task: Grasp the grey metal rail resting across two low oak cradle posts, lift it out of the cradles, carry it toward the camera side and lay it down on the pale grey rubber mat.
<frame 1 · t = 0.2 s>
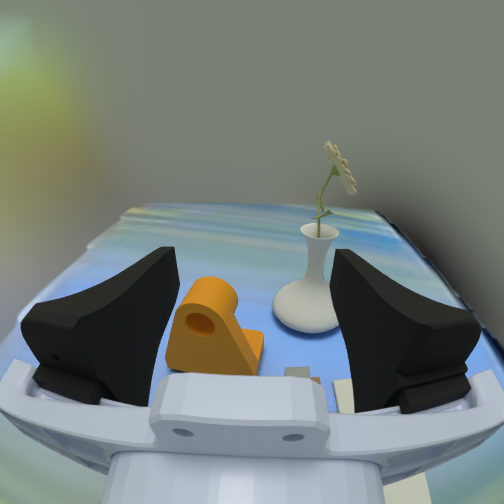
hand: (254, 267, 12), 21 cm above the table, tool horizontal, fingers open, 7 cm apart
mat: (380, 449, 20), on the table
flower in vase: (310, 311, 42), on the table
bracket: (218, 360, 34), on the table
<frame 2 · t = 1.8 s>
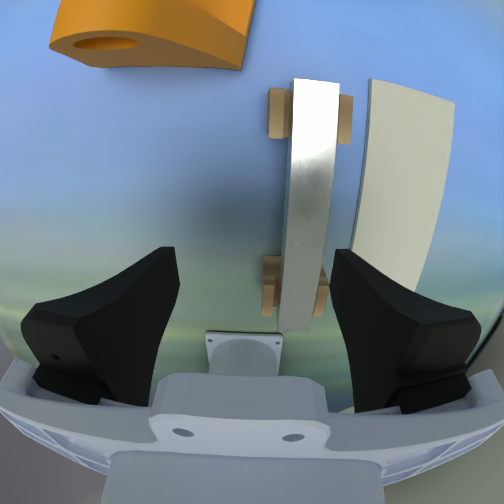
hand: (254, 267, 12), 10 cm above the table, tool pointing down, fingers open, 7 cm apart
rail: (301, 213, 18), point 3 cm above the table, touching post, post
mat: (399, 207, 21), on the table
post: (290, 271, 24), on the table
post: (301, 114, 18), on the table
bracket: (178, 25, 15), on the table
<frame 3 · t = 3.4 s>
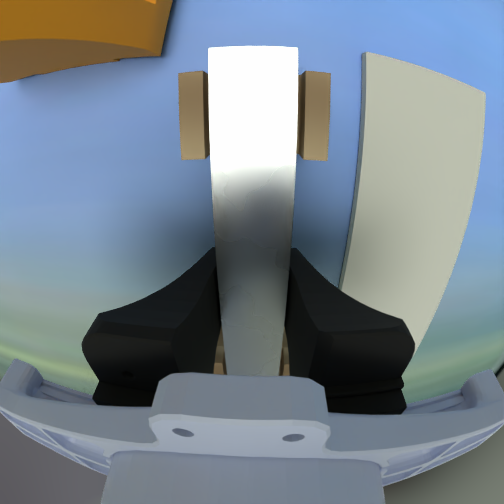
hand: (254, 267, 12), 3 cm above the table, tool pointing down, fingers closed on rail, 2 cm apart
rail: (254, 270, 12), point 3 cm above the table, touching gripper, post, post
mat: (408, 242, 14), on the table
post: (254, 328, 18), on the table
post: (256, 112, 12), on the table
bracket: (91, 11, 8), on the table
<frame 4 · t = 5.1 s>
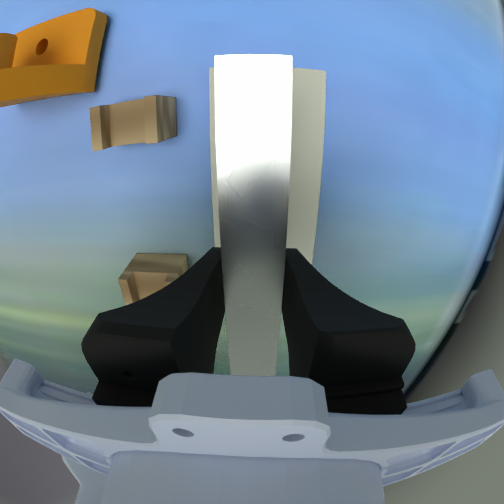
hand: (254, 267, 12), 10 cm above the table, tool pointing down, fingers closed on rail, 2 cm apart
rail: (254, 255, 13), point 9 cm above the table, touching gripper
mat: (265, 198, 21), on the table
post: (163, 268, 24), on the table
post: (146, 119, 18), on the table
bracket: (59, 60, 15), on the table
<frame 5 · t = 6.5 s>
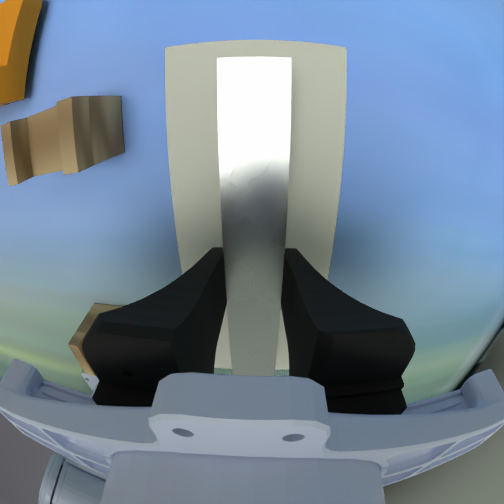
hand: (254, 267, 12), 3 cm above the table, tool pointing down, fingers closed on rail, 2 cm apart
rail: (255, 251, 14), point 1 cm above the table, touching gripper
mat: (255, 241, 15), on the table
when the fingers open (2 cm above the table, at t = 7.0 s): rail stays where it is, resting on mat.
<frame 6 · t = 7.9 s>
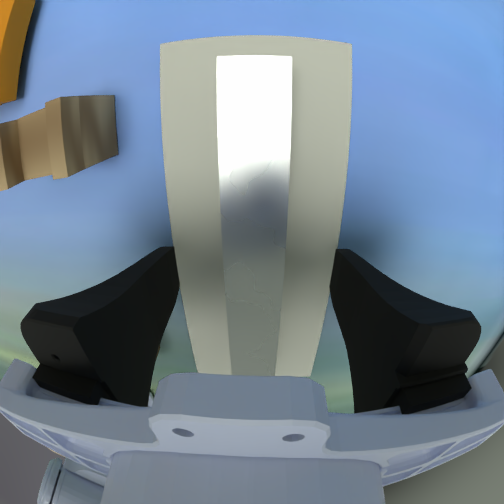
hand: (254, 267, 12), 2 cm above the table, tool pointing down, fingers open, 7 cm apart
rail: (255, 252, 13), point 1 cm above the table, touching mat
mat: (255, 247, 14), on the table
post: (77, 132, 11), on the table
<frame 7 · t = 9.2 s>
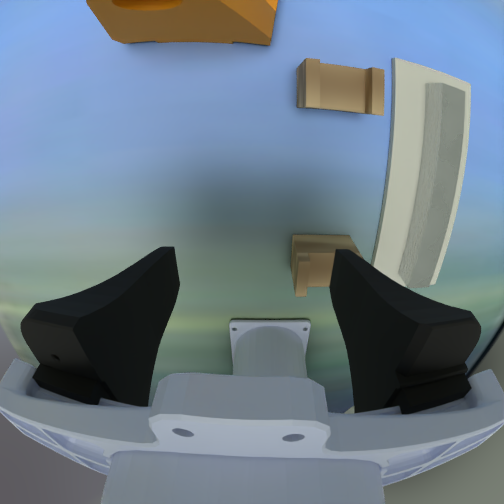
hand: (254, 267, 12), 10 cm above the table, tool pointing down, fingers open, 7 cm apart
rail: (428, 185, 19), point 1 cm above the table, touching mat
mat: (425, 183, 20), on the table
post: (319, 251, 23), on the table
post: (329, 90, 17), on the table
bracket: (203, 3, 14), on the table
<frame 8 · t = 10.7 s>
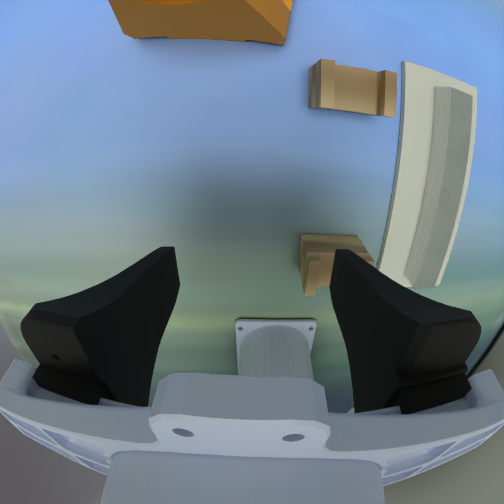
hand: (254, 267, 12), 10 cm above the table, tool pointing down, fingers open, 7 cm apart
rail: (435, 187, 19), point 1 cm above the table, touching mat
mat: (431, 185, 20), on the table
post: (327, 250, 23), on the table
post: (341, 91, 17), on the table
bracket: (216, 0, 14), on the table
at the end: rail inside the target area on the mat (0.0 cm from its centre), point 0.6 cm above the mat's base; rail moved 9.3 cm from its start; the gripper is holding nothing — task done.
